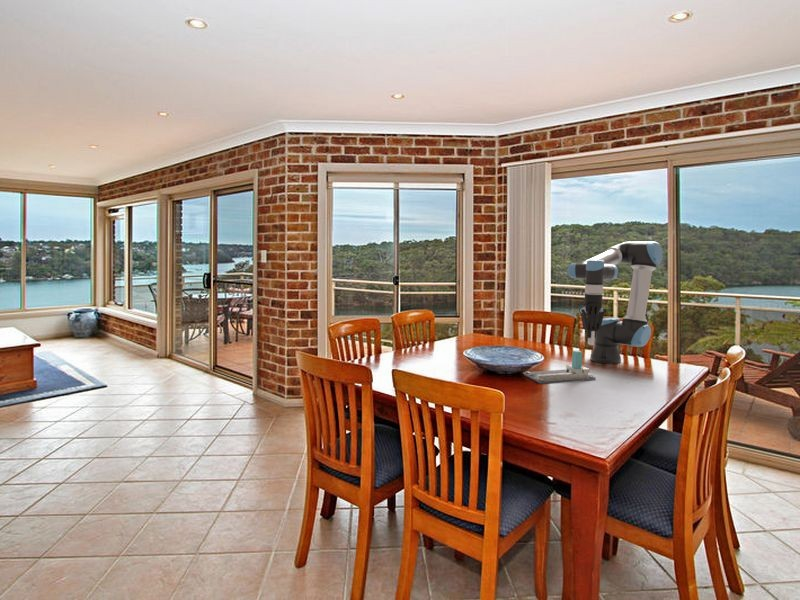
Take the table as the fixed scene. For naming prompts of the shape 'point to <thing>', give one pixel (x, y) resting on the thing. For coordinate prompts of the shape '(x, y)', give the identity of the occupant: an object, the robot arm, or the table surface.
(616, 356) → the robot arm
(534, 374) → the bolt plate
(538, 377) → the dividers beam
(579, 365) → the sliding leg
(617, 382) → the table surface
